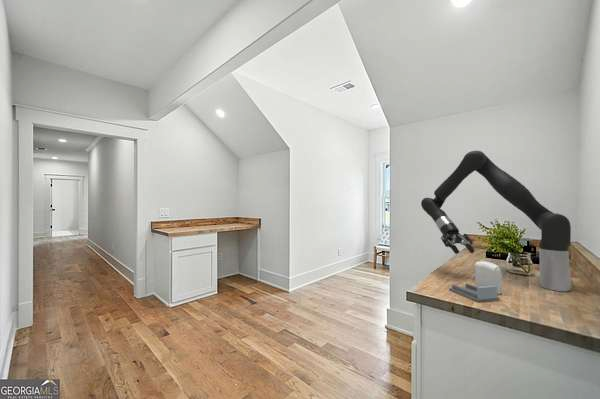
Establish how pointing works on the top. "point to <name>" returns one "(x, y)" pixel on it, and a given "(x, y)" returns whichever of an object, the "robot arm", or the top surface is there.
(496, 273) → the photo printer
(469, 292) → the charging dock
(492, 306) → the top surface
